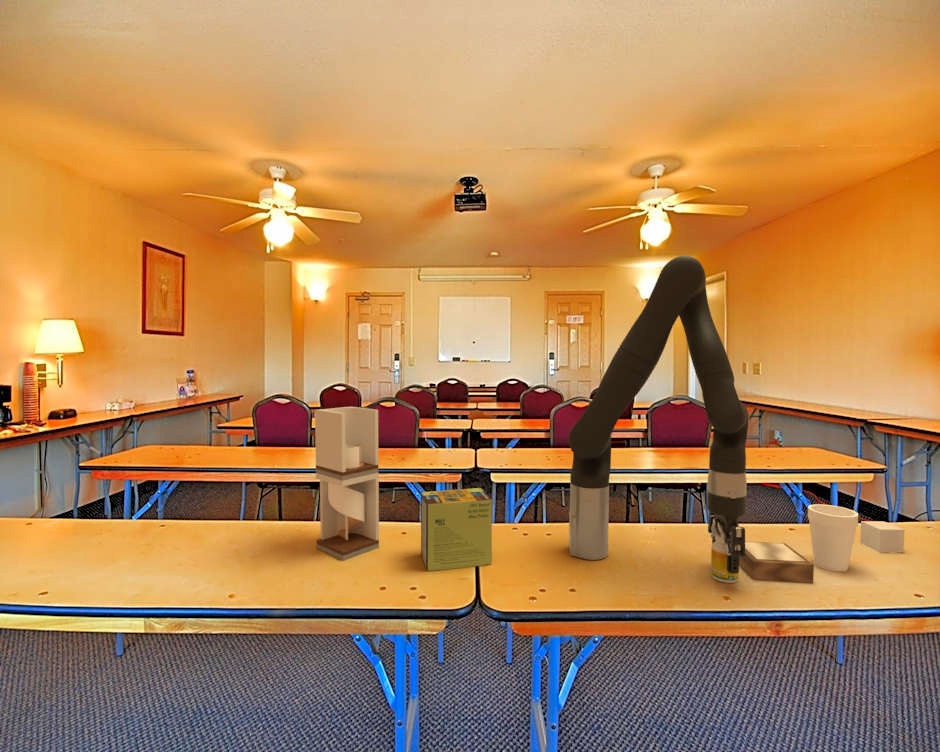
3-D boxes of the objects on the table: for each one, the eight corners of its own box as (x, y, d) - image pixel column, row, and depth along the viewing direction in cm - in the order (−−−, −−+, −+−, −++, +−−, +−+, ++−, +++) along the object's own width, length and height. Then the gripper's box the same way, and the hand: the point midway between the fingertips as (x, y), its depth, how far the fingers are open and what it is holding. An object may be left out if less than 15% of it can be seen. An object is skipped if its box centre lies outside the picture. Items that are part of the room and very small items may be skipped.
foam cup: (850, 561, 116) (852, 507, 115) (862, 577, 107) (864, 519, 107) (802, 554, 120) (804, 502, 119) (810, 569, 111) (812, 513, 111)
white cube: (879, 553, 121) (880, 529, 121) (860, 544, 127) (860, 521, 127) (903, 553, 121) (904, 529, 121) (883, 544, 127) (883, 521, 127)
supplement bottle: (719, 570, 111) (720, 529, 110) (743, 579, 106) (744, 536, 106) (705, 576, 108) (706, 533, 107) (729, 586, 103) (731, 541, 103)
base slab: (753, 579, 106) (754, 560, 106) (731, 557, 118) (731, 539, 118) (813, 583, 105) (813, 563, 105) (784, 559, 117) (785, 542, 117)
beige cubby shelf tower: (316, 548, 123) (315, 409, 122) (352, 536, 131) (350, 406, 130) (343, 560, 116) (341, 413, 114) (378, 547, 124) (378, 409, 122)
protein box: (492, 565, 114) (493, 499, 113) (427, 572, 110) (427, 504, 109) (480, 547, 124) (480, 487, 123) (420, 553, 120) (420, 491, 119)
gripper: (697, 481, 114) (696, 550, 115) (720, 499, 100) (718, 577, 100) (731, 482, 113) (730, 552, 114) (760, 501, 99) (757, 580, 99)
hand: (724, 564), depth 107 cm, fingers open, 8 cm apart
